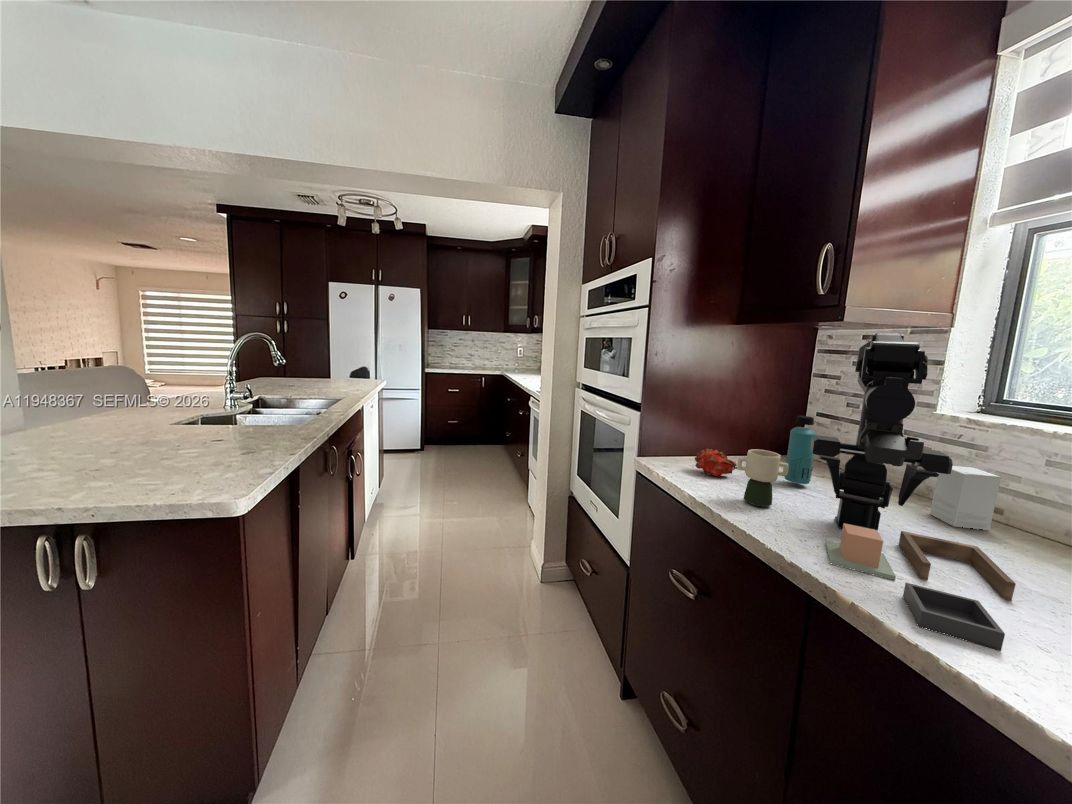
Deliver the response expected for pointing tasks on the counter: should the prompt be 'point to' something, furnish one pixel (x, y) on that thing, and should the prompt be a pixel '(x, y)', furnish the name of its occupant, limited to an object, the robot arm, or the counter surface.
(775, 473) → the character mug
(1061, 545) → the counter surface
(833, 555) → the mat
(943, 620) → the tray
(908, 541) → the stall
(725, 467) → the dragon fruit
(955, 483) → the supplement box
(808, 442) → the beverage bottle
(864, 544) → the block
